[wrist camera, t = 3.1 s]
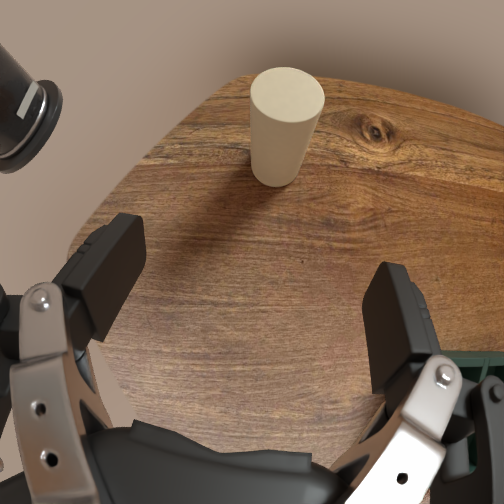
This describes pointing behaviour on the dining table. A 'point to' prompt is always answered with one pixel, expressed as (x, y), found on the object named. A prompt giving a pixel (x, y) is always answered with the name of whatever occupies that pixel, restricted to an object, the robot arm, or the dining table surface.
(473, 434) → the grid
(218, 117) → the dining table surface
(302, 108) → the cylinder
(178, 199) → the dining table surface
